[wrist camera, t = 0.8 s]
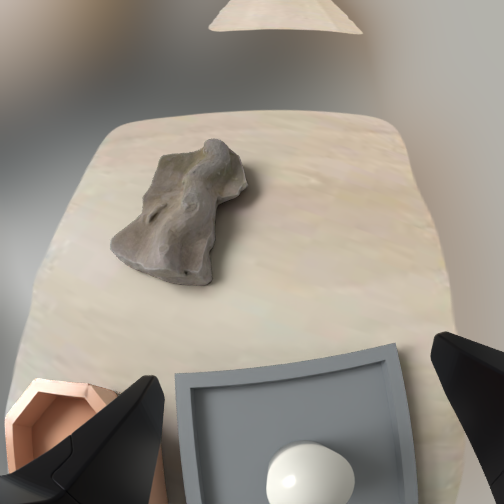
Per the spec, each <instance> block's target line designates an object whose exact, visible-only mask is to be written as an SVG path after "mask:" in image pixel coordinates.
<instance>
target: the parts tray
mask: <svg viewBox="0 0 504 504" xmlns="http://www.w3.org/2000/svg"><path fill="white" fill-rule="evenodd" d="M175 391H176V407H177V421H178V434H179V445H180V455H181V464H182V473H183V481H184V489H185V496H186V503H187V504H270V503H269V500H268V498H267V492H266V486H267V473H268V465H269V462H270V460H271V458H272V456H273V455H274V454H275V453H276V452H277V451H278V450H279V449H280V448H281V447H283V446H285V445H286V444H289V443H291V442H294V441H300V440H308V441H314V442H317V443H319V444H321V445H323V446H325V447H327V448H329V449H330V450H332V451H334V452H336V453H338V454H340V455H341V456H343V457H344V458H345V459H346V460H347V461H348V463H349V464H350V466H351V467H352V470H353V472H354V477H355V484H354V489H353V493H352V495H351V497H350V499H349V500H348V502H347V503H346V504H418V485H417V472H416V461H415V452H414V443H413V435H412V428H411V421H410V415H409V408H408V402H407V397H406V391H405V386H404V381H403V375H402V371H401V366H400V361H399V357H398V352H397V348H396V343H392V344H388V345H384V346H379V347H375V348H371V349H366V350H361V351H357V352H352V353H347V354H342V355H336V356H331V357H325V358H320V359H314V360H308V361H301V362H295V363H288V364H280V365H273V366H265V367H256V368H247V369H237V370H226V371H213V372H197V373H177V374H175Z"/></svg>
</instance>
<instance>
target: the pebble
mask: <svg viewBox="0 0 504 504" xmlns="http://www.w3.org/2000/svg"><path fill="white" fill-rule="evenodd" d="M354 484H355V477H354V472H353V470H352V467H351V466H350V464H349V463H348V461H347V460H346V459H345V458H344V457H343V456H341V455H340V454H338V453H336V452H334V451H332V450H330V449H329V448H327V447H325V446H323V445H321V444H319V443H317V442H314V441H308V440H300V441H294V442H291V443H289V444H286V445H285V446H283V447H281V448H280V449H279V450H278V451H277V452H276V453H275V454H274V455H273V456H272V458H271V460H270V462H269V465H268V473H267V486H266V492H267V498H268V500H269V503H270V504H346V503H347V502H348V500H349V499H350V497H351V495H352V493H353V489H354Z"/></svg>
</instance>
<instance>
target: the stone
mask: <svg viewBox="0 0 504 504" xmlns="http://www.w3.org/2000/svg"><path fill="white" fill-rule="evenodd" d="M247 186H248V183H247V181H246V178H245V172H244V169H243V165H242V163H241V159H240V157H239V156H238V155H237V154H236V153H234V152H233V151H232V150H231V149H229V148H228V146H227V145H226V144H225V143H224V142H223V141H221V140H218V139H209V140H207V141H205V142H204V147H203V148H201V149H200V150H198V151H194V152H189V153H180V154H168V155H163V156H162V157H161V158H160V160H159V163H158V167H157V170H156V172H155V174H154V177H153V180H152V184H151V186H150V188H149V189H148V191H147V192H146V193H145V195H144V196H143V207H142V208H143V210H142V213H141V215H139V216H138V217H137V219H136V220H134V221H133V222H132V223H130V224H129V225H128V226H127V227H125V228H124V229H123V230H121V231H120V232H119V233H117V234H116V235H115V236H114V237H113V238H112V239H111V243H110V250H111V251H112V252H113V253H114V254H115V255H116V256H117V257H118V258H119V259H120V260H121V261H122V262H124V263H125V264H126V265H128V266H130V267H131V268H134V269H136V270H138V271H141V272H145V273H149V274H150V275H152V276H154V277H157V278H160V279H162V280H164V281H166V282H171V283H176V284H183V285H200V286H201V285H206V284H208V283H209V282H210V281H211V280H212V269H211V259H210V256H209V252H210V250H211V249H212V248H213V245H214V241H215V225H214V224H215V217H216V209H217V206H218V205H219V204H221V203H223V202H225V201H228V200H230V199H233V198H236V197H238V196H239V195H240V192H241V191H243V190H244V189H245V188H246V187H247Z"/></svg>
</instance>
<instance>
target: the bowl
mask: <svg viewBox="0 0 504 504" xmlns="http://www.w3.org/2000/svg"><path fill="white" fill-rule="evenodd" d="M116 397H118V396H117V395H116V393H115V392H114V391H112V390H109V389H105V388H102V387H98V386H94V385H91V384H86V383H73V382H63V381H53V380H45V379H37V378H36V379H34V380H33V381H32V383H31V384H30V385H29V387H28V388H27V389H26V390H25V392H24V393H23V394H22V395H21V397H20V398H19V399H18V401H17V402H16V403H15V405H14V406H13V407H12V409H11V410H10V411H9V413H8V414H7V415H6V419H5V433H6V448H7V459H8V468H9V474H10V473H12V472H14V471H16V470H18V469H19V468H21V467H23V466H24V465H26V464H28V463H29V462H31V461H33V460H34V459H36V458H38V457H39V456H41V455H42V454H44V453H45V452H47V451H48V450H50V449H51V448H53V447H54V446H55V445H57V444H58V443H60V442H61V441H62V440H64V439H65V438H66V437H67V436H69V435H71V434H72V433H73V432H74V431H75V430H76V429H78V428H79V427H80V426H81V425H83V424H84V423H85V422H87V421H88V420H89V419H90V418H92V417H93V416H94V415H95V414H97V413H98V412H99V411H100V410H102V409H103V408H104V407H105V406H107V405H108V404H109V403H110V402H111V401H113V400H114V399H115V398H116ZM149 504H168V499H167V492H166V485H165V477H164V468H163V459H162V449H161V443H160V448H159V453H158V458H157V463H156V468H155V473H154V478H153V483H152V488H151V494H150V499H149Z"/></svg>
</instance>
